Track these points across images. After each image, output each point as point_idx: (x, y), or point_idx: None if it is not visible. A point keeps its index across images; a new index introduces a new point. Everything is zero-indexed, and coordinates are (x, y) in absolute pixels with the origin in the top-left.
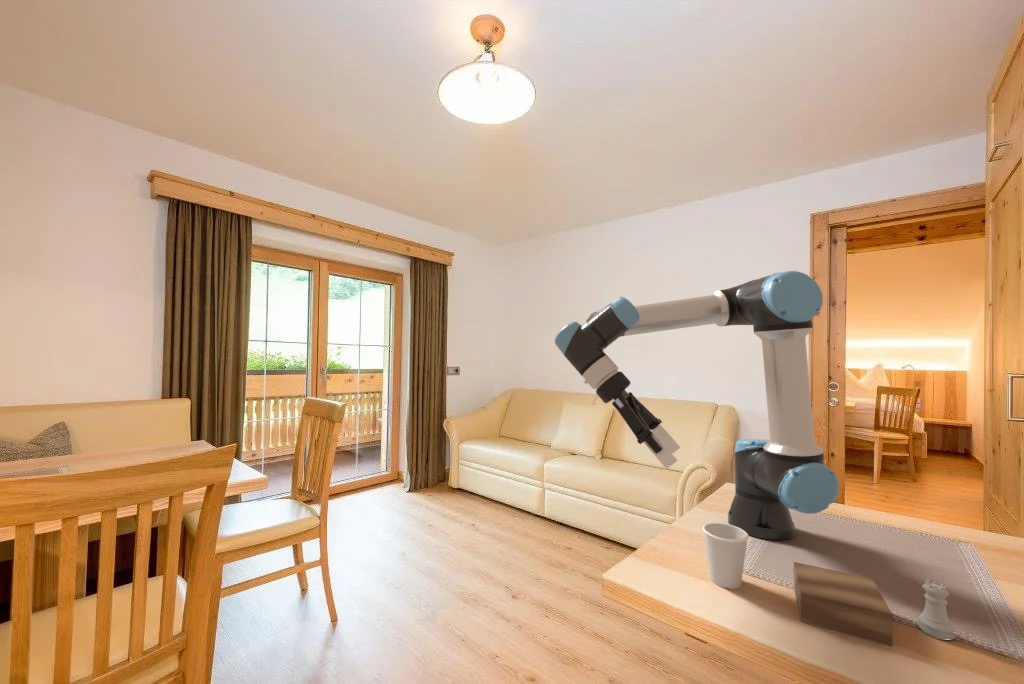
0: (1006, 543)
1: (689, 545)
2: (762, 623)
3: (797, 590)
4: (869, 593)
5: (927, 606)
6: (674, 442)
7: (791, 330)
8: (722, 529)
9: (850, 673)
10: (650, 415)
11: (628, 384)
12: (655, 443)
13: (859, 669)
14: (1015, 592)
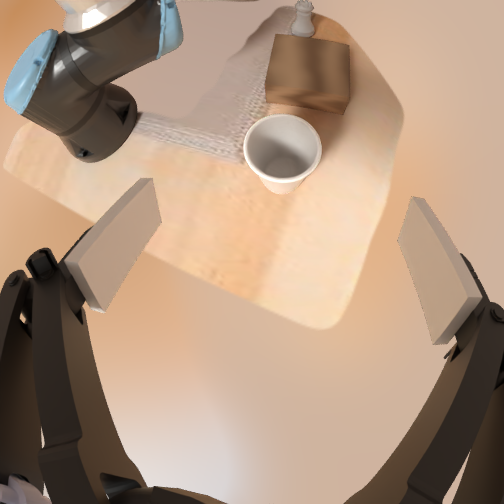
0: None
1: (181, 217)
2: (365, 152)
3: (310, 99)
4: (314, 44)
5: (305, 20)
6: (138, 196)
7: None
8: (250, 150)
9: (401, 107)
10: (44, 333)
11: None
12: (478, 283)
13: (392, 98)
14: None
